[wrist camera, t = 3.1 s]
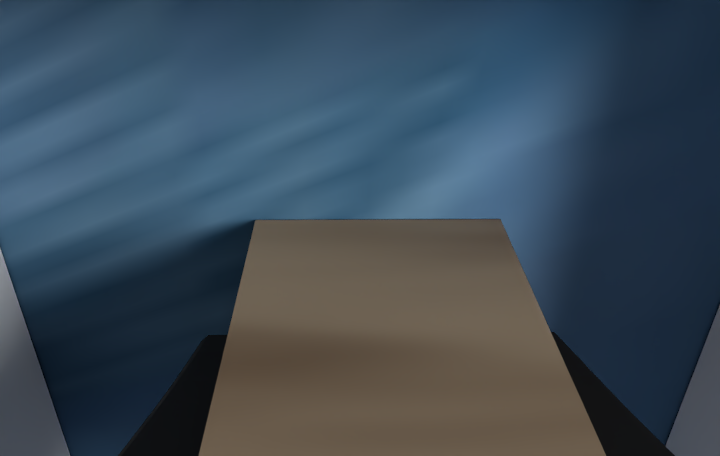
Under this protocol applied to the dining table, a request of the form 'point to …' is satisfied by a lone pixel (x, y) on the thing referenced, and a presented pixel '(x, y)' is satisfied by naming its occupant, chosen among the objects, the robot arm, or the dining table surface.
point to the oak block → (391, 347)
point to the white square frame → (50, 452)
